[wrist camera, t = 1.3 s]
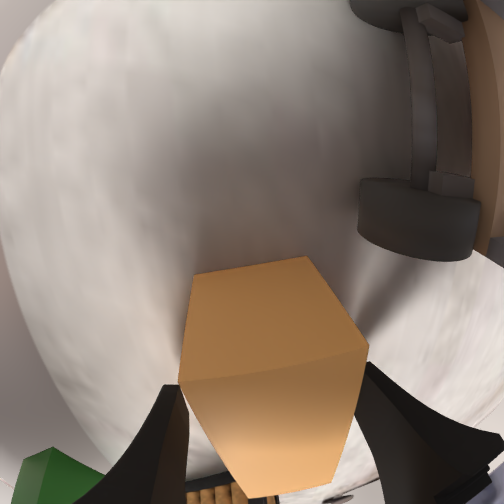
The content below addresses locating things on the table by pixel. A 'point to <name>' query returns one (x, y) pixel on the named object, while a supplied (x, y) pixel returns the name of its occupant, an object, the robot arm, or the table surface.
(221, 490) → the ammunition clip
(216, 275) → the block
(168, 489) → the robot arm
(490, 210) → the dolly
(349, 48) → the table surface
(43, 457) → the hardback book
